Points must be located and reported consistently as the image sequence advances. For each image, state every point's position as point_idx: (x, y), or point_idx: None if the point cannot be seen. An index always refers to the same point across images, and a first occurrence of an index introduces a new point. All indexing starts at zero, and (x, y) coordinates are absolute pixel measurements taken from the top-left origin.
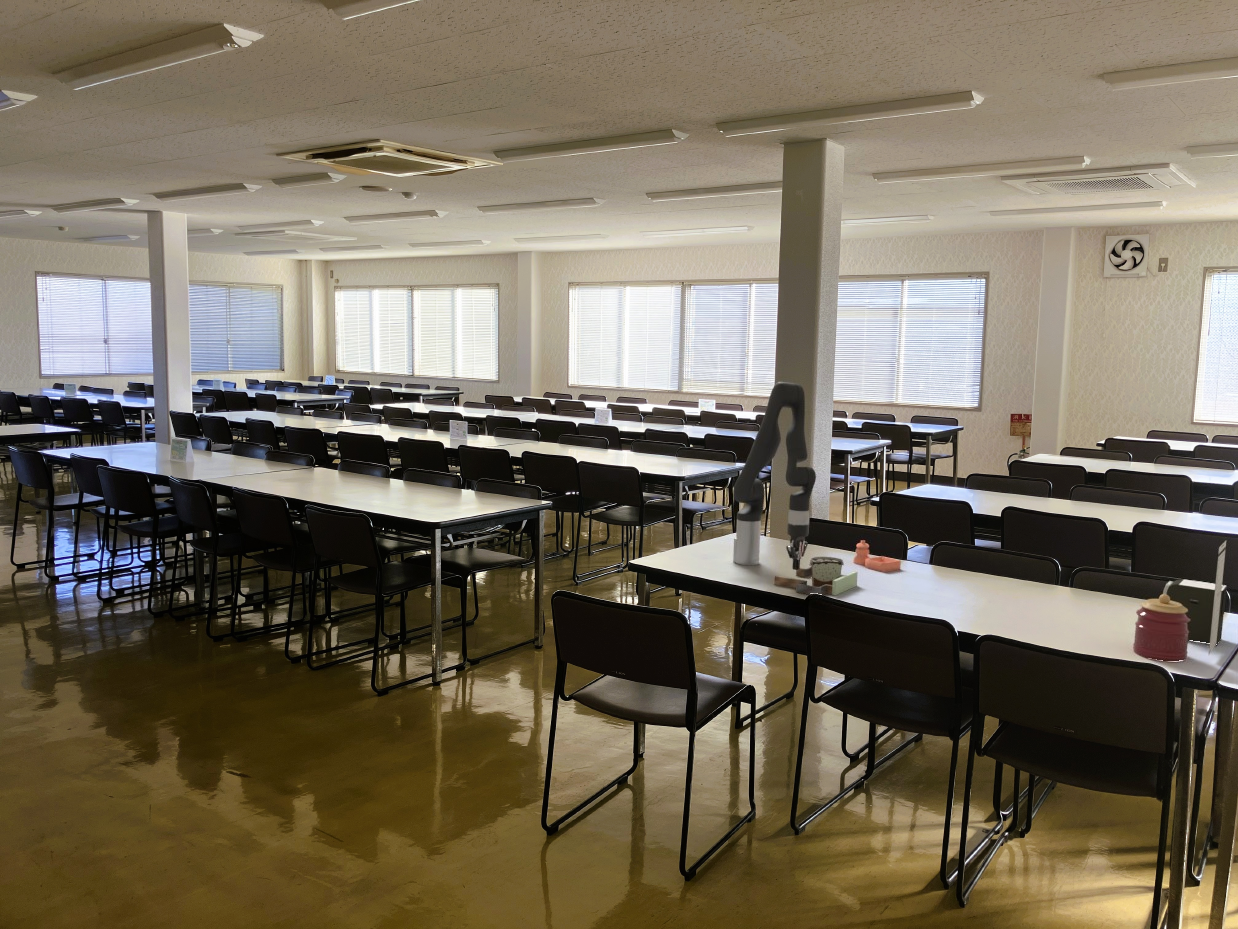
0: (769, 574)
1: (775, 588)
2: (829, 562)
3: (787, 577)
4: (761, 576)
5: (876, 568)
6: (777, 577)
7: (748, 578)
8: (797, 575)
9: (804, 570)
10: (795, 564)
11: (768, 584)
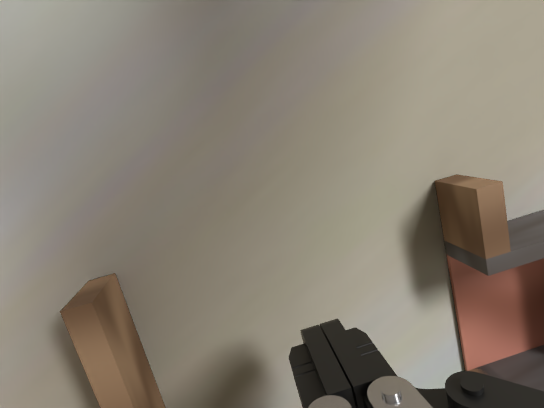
0: (311, 17)
1: (5, 370)
2: None
3: (129, 401)
4: (197, 26)
5: None
6: (74, 333)
7: (33, 6)
8: (439, 192)
9: (479, 257)
10: (302, 406)
11: (45, 257)
